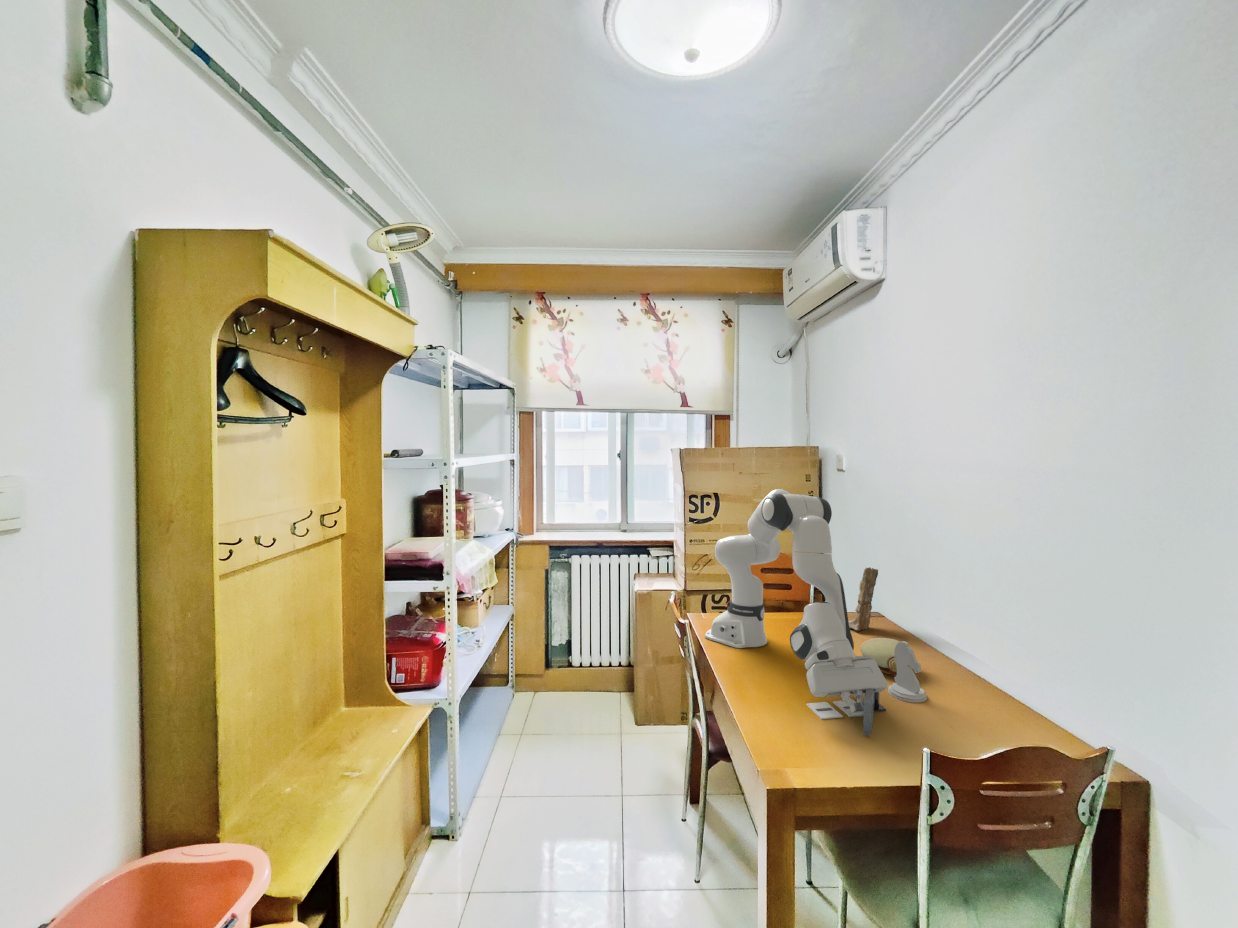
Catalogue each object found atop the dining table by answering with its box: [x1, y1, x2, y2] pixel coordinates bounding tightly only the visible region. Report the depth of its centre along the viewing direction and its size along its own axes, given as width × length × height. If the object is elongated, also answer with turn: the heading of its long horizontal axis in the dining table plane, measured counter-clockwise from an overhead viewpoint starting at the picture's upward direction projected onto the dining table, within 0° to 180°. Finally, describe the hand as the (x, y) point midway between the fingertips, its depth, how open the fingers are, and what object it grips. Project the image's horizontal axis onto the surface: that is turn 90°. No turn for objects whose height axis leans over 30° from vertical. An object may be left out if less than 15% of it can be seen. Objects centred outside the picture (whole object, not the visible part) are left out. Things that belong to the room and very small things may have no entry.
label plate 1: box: [805, 701, 844, 720], centre depth 144 cm, size 6×8×1 cm
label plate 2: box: [832, 699, 864, 718], centre depth 146 cm, size 6×8×1 cm
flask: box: [859, 637, 901, 676], centre depth 170 cm, size 9×16×18 cm
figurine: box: [848, 567, 879, 632], centre depth 212 cm, size 12×10×25 cm
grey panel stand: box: [862, 688, 880, 737], centre depth 139 cm, size 20×4×9 cm, turn 151°
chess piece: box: [887, 640, 928, 703], centre depth 154 cm, size 10×10×15 cm
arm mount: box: [862, 700, 887, 713], centre depth 147 cm, size 5×5×1 cm
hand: (858, 711), depth 136 cm, fingers closed
